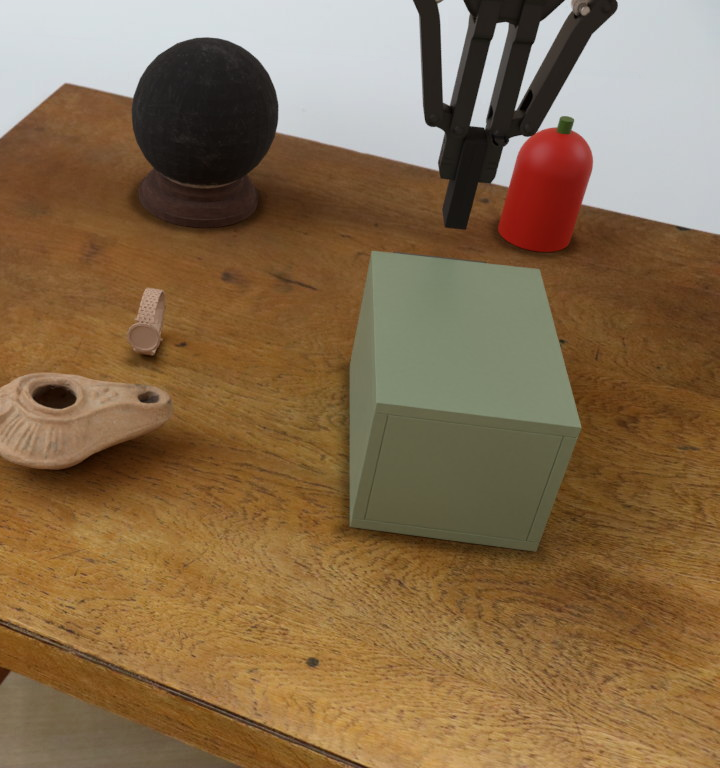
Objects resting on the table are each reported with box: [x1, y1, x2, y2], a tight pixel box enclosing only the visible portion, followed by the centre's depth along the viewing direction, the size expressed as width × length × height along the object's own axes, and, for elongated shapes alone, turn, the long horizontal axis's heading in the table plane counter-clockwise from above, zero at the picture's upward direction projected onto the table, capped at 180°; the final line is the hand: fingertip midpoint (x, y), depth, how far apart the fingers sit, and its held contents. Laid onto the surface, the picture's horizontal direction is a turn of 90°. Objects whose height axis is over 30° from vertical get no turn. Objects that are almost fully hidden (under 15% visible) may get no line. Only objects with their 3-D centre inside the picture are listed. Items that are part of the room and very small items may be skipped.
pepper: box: [497, 115, 594, 253], centre depth 98 cm, size 6×6×11 cm
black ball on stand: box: [131, 36, 279, 229], centre depth 100 cm, size 13×13×15 cm
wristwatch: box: [126, 287, 167, 356], centre depth 83 cm, size 3×5×5 cm, turn 167°
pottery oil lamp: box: [0, 372, 175, 471], centre depth 73 cm, size 9×12×7 cm
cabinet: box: [349, 250, 582, 553], centre depth 74 cm, size 18×12×10 cm, turn 172°
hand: (454, 219), depth 79 cm, fingers closed
